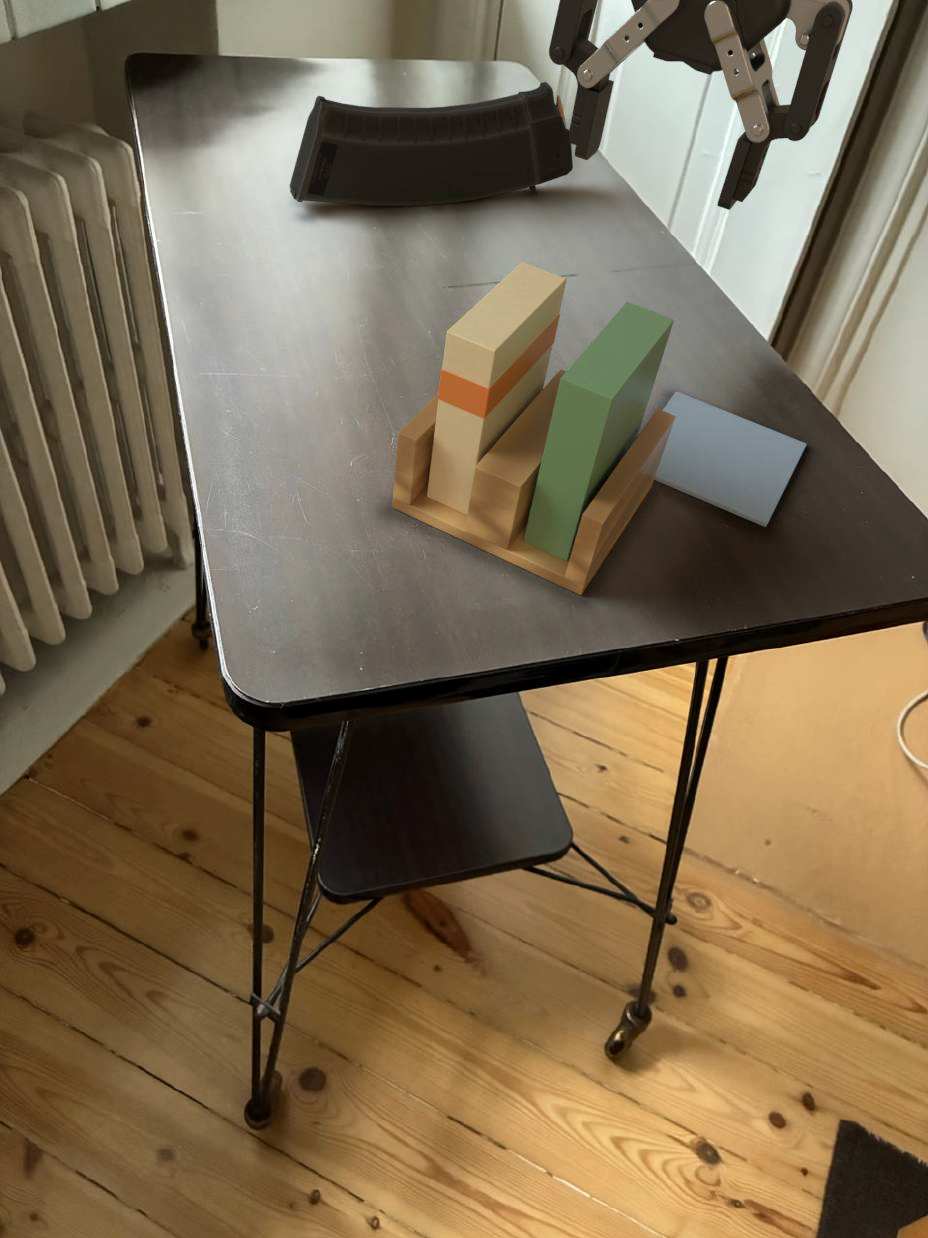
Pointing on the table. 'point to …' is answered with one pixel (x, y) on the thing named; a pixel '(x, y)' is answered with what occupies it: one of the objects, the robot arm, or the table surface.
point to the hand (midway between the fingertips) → (656, 178)
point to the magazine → (431, 151)
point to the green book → (595, 423)
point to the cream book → (491, 375)
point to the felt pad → (727, 459)
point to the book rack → (527, 491)
